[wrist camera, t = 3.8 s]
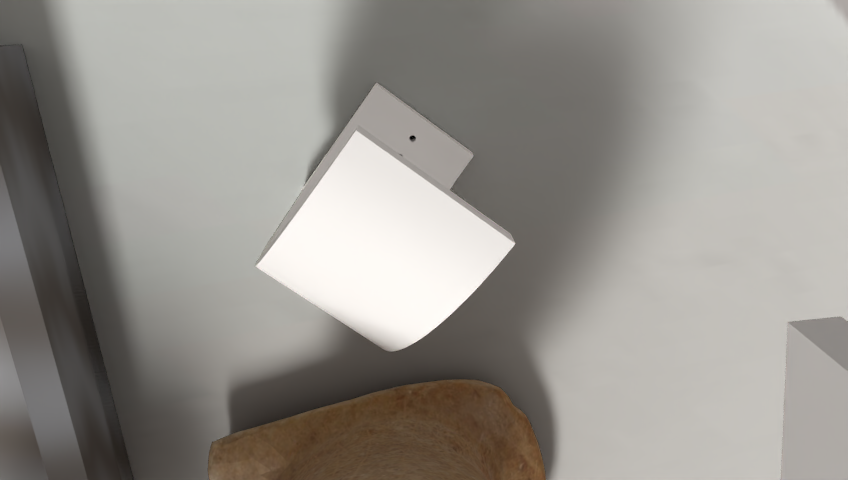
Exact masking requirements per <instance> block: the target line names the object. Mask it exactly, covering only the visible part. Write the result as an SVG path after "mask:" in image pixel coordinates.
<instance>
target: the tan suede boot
mask: <svg viewBox="0 0 848 480" xmlns="http://www.w3.org/2000/svg"><path fill="white" fill-rule="evenodd" d="M208 475H209V480H546V476H545V468H544V464H543V459H542V455H541V451H540V448H539V444H538V441H537V439H536V436H535V434H534V431H533V429H532V426H531V424H530V422H529V420H528V418H527V417H526V415H525V414H524V413H523V412H522V411H521V410H520V409H518V408H517V407H515V406H514V405H513V404H512V402H511V400H510V398H509V396H508V395H507V394H506V393H505V392H504V391H503V390H502V389H501V388H500V387H497V386H495V385H492V384H490V383H486V382H483V381H479V380H469V379H456V380H439V381H432V382H425V383H417V384H410V385H403V386H398V387H394V388H390V389H386V390H382V391H377V392H373V393H370V394H367V395H364V396H360V397H357V398H354V399H351V400H347V401H343V402H339V403H336V404H332V405H328V406H324V407H321V408H317V409H314V410H310V411H307V412H304V413H301V414H297V415H294V416H291V417H288V418H284V419H281V420H278V421H274V422H271V423H268V424H264V425H261V426H257V427H254V428H250V429H247V430H243V431H239V432H236V433H234V434H231V435H229V436H226V437H224V438H221V439H219V440H216V441H214V442H212V444H211V447H210V451H209V460H208Z"/></svg>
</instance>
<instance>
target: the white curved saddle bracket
mask: <svg viewBox="0 0 848 480" xmlns="http://www.w3.org/2000/svg"><path fill="white" fill-rule="evenodd" d="M412 135H414V136H415V137H414V138H410V136H412ZM400 154H402V155H400ZM473 156H474V155H473V153H472V152H471V151H470V150H469V149H467V148H466V147H465V146H463V145H462V144H460V143H459V142H458V141H456V140H455V139H454V138H452V137H451V136H450V135H448V134H447V133H445V132H444V131H443V130H441V129H440V128H439V127H437V126H436V125H434V124H433V123H432V122H430V121H429V120H428V119H426V118H425V117H424V116H422V115H421V114H419V113H418V112H417V111H415V110H414V109H413V108H411V107H410V106H408V105H407V104H406V103H404V102H403V101H402V100H400V99H399V98H398V97H396V96H395V95H393V94H392V93H391V92H389V91H388V90H387V89H385V88H384V87H382V86H381V85H380V84H378V83H377V82H376V84H375V85H374V86H373V88H372V89H371V91H370V92H369V94H368V95H367V96H366V98H365V99H364V101H363V102H362V104H361V105H360V106H359V108H358V109H357V111H356V112H355V114H354V115H353V116H352V118H351V119H350V121H349V122H348V124H347V125H346V127H345V128H344V129H343V131H342V132H341V134H340V135H339V137H338V138H337V139H336V141H335V142H334V144H333V145H332V147H331V148H330V149H329V151H328V152H327V154H326V155H325V157H324V158H323V159H322V161H321V162H320V164H319V165H318V167H317V168H316V169H315V171H314V172H313V174H312V175H311V177H310V178H309V179H308V181H307V182H306V184H305V185H304V187H303V188H302V190H301V191H302V192H301V193H300V195H299V196H298V198H297V199H296V201H295V202H294V204H293V205H292V207H291V208H290V210H289V211H288V213H287V214H286V216H285V217H284V219H283V220H282V222H281V223H280V225H279V226H278V228H277V230H276V231H275V233H274V234H273V236H272V237H271V239H270V241H269V242H268V244H267V245H266V247H265V249H264V250H263V252H262V253H261V255H260V257H259V259H258V260H257V262H256V264H255V266H256V267H257V268H259V269H260V270H262V271H263V272H265V273H266V274H268V275H269V276H271V277H272V278H274V279H276V280H277V281H279V282H280V283H282V284H283V285H285V286H286V287H288V288H289V289H291V290H293V291H294V292H296V293H297V294H299V295H300V296H302V297H303V298H305V299H306V300H308V301H310V302H311V303H313V304H314V305H316V306H317V307H319V308H320V309H322V310H323V311H325V312H326V313H328V314H330V315H331V316H333V317H334V318H336V319H337V320H339V321H340V322H342V323H343V324H345V325H347V326H348V327H350V328H351V329H353V330H354V331H356V332H357V333H359V334H360V335H362V336H364V337H365V338H367V339H368V340H370V341H371V342H373V343H374V344H376V345H377V346H379V347H380V348H382V349H384V350H385V351H390V352H391V351H398V350H401V349H403V348H406V347H408V346H410V345H411V344H413V343H415V342H417V341H418V340H420V339H421V338H423V337H424V336H425V335H427V334H428V333H429V332H431V331H432V330H433V329H434V328H436V327H437V326H438V325H439V324H441V323H442V322H443V321H444V320H445V319H446V318H447V317H448V316H450V315H451V314H452V313H453V312H454V311H455V310H456V309H457V308H458V307H459V306H460V305H461V304H462V303H463V302H464V301H465V300H466V299H467V298H468V297H469V296H470V295H471V294H472V293H473V292H474V291H475V290H476V289H477V288H478V287H479V286H480V285H481V283H482V282H483V281H484V280H485V279H486V278H487V277H488V276H489V274H490V273H491V272H492V271H493V270H494V269H495V268H496V267H497V265H498V264H499V263H500V262H501V261H502V259H503V258H504V257H505V256H506V255H507V253H508V252H509V251H510V250H511V249H512V247H513V246H514V245H515V242H514V240H513V237H512V235H511V234H510V233H509V232H508V231H506V230H505V229H503V228H502V227H501V226H499V225H498V224H496V223H495V222H494V221H492V220H491V219H489V218H488V217H487V216H485V215H484V214H482V213H481V212H480V211H478V210H477V209H475V208H474V207H473V206H471V205H470V204H468V203H467V202H466V201H464V200H463V199H461V198H460V197H459V196H457V195H456V194H454V193H453V192H452V191H450V189H451V187H452V186H453V184H454V183H455V181H456V180H457V179H458V177H459V176H460V174H461V173H462V171H463V170H464V169H465V167H466V166H467V165H468V163H469V162H470V160H471V159H472V158H473Z"/></svg>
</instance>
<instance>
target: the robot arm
mask: <svg viewBox="0 0 848 480" xmlns="http://www.w3.org/2000/svg"><path fill="white" fill-rule="evenodd" d="M781 480H848V321H846V320H845V319H844V318H842V317H831V318H822V319H812V320H802V321H793V322H788V325H787V347H786V370H785V392H784V415H783V437H782V460H781Z"/></svg>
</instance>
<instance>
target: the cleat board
mask: <svg viewBox="0 0 848 480" xmlns="http://www.w3.org/2000/svg"><path fill="white" fill-rule="evenodd" d="M0 480H133V476H132V472H131V468H130V464H129V460H128V457H127V453H126V449H125V445H124V441H123V437H122V433H121V429H120V425H119V421H118V418H117V414H116V410H115V406H114V402H113V398H112V394H111V390H110V386H109V382H108V379H107V375H106V371H105V367H104V363H103V359H102V355H101V351H100V347H99V343H98V340H97V336H96V332H95V328H94V324H93V320H92V316H91V312H90V308H89V304H88V301H87V297H86V293H85V289H84V285H83V281H82V277H81V273H80V269H79V265H78V262H77V258H76V254H75V250H74V246H73V242H72V238H71V234H70V230H69V226H68V223H67V219H66V215H65V211H64V207H63V203H62V199H61V195H60V191H59V187H58V183H57V180H56V176H55V172H54V168H53V164H52V160H51V156H50V152H49V148H48V144H47V141H46V137H45V133H44V129H43V125H42V121H41V117H40V113H39V109H38V105H37V102H36V98H35V94H34V90H33V86H32V82H31V78H30V74H29V70H28V66H27V63H26V59H25V55H24V51H23V47H22V44H21V45H9V46H0Z"/></svg>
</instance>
